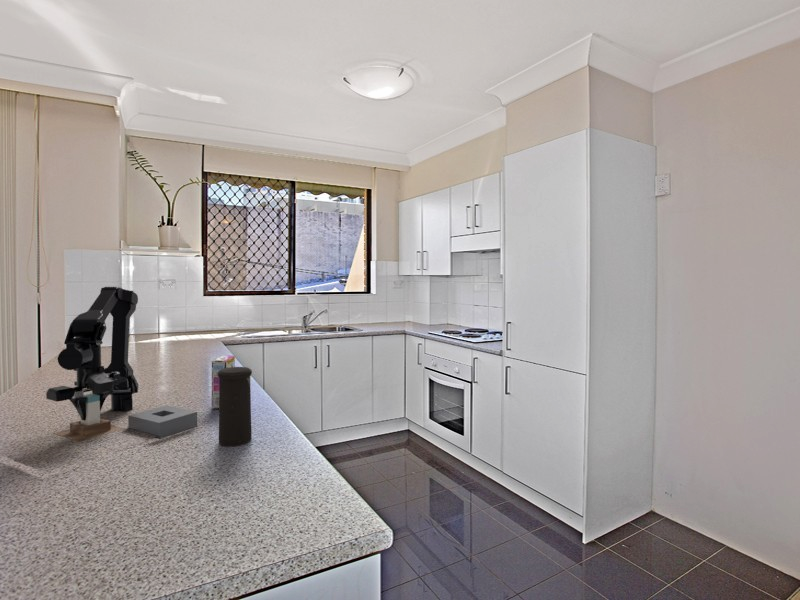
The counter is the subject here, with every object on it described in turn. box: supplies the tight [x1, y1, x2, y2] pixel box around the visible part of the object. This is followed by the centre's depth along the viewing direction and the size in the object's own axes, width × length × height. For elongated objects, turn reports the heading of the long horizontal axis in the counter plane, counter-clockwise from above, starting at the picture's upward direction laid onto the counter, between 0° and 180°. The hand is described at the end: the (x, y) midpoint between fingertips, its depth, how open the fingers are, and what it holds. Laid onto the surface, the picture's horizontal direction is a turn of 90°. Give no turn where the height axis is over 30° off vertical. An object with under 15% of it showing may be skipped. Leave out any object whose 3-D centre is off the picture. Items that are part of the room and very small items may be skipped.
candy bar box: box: [211, 355, 236, 410], centre depth 159 cm, size 11×5×16 cm, turn 5°
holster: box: [55, 417, 126, 442], centre depth 129 cm, size 12×12×4 cm
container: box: [218, 366, 253, 447], centre depth 124 cm, size 9×9×20 cm
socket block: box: [127, 405, 198, 440], centre depth 134 cm, size 14×12×4 cm
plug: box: [80, 392, 101, 426], centre depth 129 cm, size 4×3×10 cm
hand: (90, 418), depth 129 cm, fingers closed on plug, 3 cm apart
